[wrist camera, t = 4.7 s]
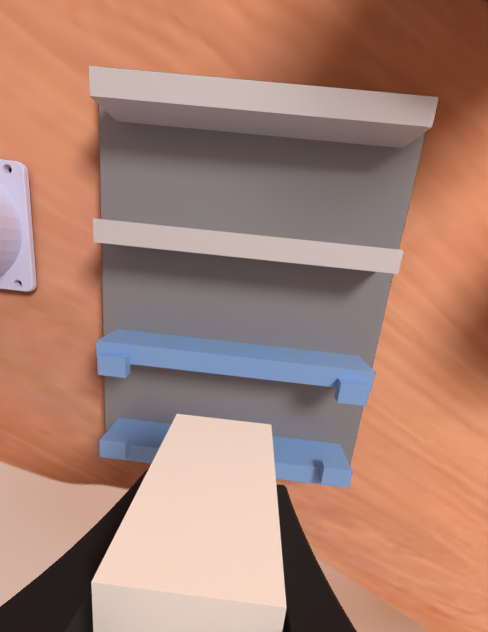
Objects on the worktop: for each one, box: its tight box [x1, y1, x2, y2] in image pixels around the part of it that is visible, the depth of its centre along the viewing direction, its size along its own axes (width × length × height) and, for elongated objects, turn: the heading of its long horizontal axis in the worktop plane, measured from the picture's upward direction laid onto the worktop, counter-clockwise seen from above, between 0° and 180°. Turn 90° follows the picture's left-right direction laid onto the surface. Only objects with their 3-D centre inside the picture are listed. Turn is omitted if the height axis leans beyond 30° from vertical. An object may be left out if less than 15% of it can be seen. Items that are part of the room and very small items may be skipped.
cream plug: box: [91, 414, 287, 632], centre depth 9 cm, size 4×4×6 cm
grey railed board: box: [89, 66, 439, 488], centre depth 16 cm, size 18×24×4 cm
